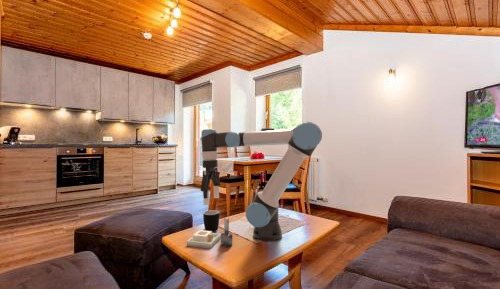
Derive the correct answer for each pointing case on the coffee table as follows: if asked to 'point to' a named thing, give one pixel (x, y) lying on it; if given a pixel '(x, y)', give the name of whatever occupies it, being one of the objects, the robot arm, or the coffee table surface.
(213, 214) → the mug
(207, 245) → the tray
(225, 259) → the coffee table surface
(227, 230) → the peg stand
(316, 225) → the coffee table surface
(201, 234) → the white hollow block
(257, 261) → the coffee table surface
